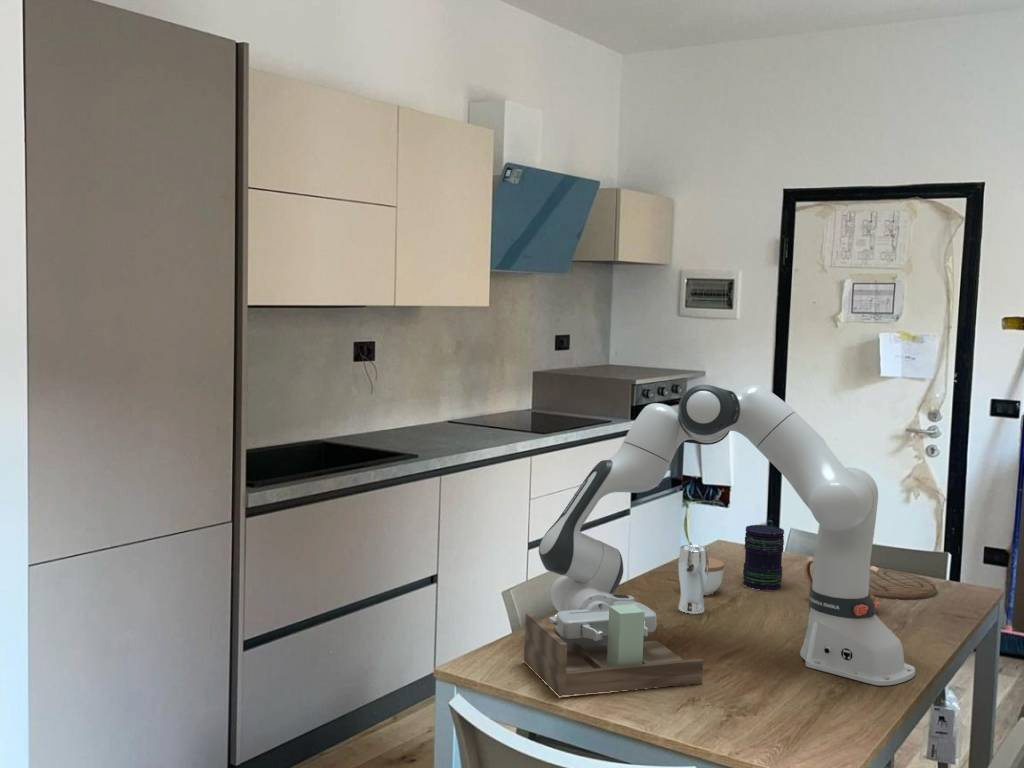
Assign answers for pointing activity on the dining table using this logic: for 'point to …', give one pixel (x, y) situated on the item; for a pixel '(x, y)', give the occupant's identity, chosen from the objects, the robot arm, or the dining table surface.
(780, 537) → the storage jar
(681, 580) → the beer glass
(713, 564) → the lidded jar
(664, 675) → the lane shelf
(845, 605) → the robot arm
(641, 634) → the block
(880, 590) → the trivet
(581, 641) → the mat
